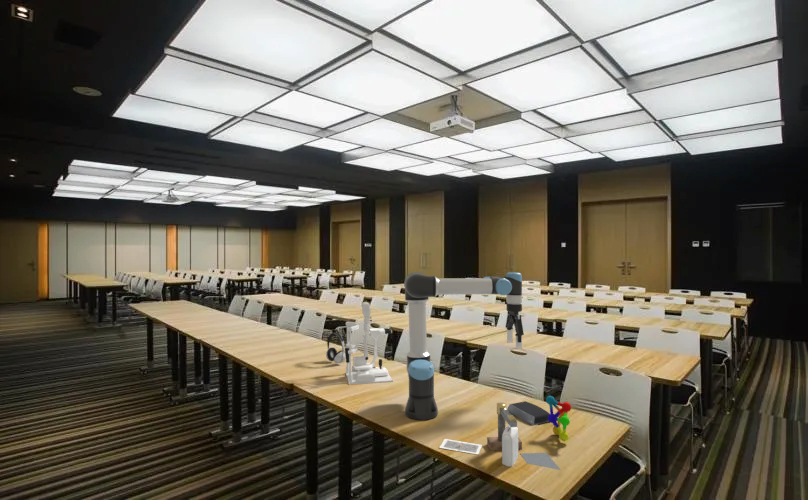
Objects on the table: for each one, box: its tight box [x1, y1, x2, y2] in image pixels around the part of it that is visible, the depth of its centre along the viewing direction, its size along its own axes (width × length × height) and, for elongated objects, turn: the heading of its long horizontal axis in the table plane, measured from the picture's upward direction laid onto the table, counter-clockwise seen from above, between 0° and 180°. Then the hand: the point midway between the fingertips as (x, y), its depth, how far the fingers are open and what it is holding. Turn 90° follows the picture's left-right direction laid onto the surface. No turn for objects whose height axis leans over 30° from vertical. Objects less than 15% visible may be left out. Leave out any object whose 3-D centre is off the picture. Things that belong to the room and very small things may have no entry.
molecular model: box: [545, 395, 572, 442], centre depth 165 cm, size 15×10×15 cm, turn 5°
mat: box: [520, 452, 562, 471], centre depth 145 cm, size 10×14×1 cm
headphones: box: [325, 332, 346, 364], centre depth 280 cm, size 19×8×20 cm, turn 44°
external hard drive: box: [506, 401, 550, 426], centre depth 188 cm, size 12×18×4 cm
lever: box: [496, 402, 518, 428], centre depth 151 cm, size 16×4×4 cm, turn 4°
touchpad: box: [439, 438, 483, 455], centre depth 157 cm, size 8×15×2 cm, turn 69°
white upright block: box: [501, 424, 519, 467], centre depth 148 cm, size 10×4×12 cm, turn 152°
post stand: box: [486, 414, 523, 451], centre depth 158 cm, size 12×5×13 cm, turn 94°
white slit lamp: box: [344, 301, 394, 386], centre depth 247 cm, size 24×27×45 cm
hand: (514, 345), depth 206 cm, fingers open, 13 cm apart
